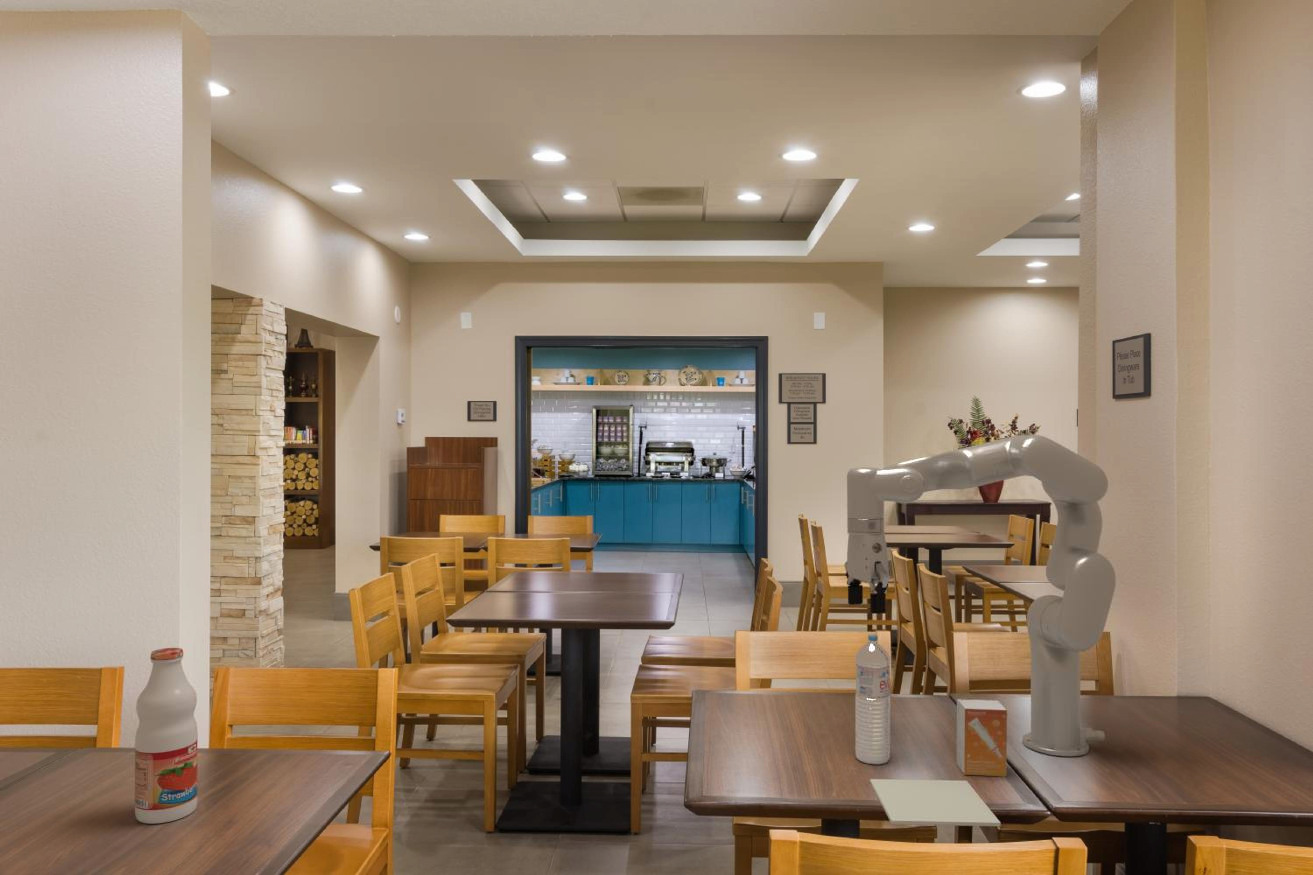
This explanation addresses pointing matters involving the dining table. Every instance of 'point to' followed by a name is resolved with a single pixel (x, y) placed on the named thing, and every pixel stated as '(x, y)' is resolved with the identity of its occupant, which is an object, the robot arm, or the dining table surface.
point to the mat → (932, 803)
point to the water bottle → (872, 703)
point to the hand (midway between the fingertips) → (866, 608)
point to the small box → (981, 737)
